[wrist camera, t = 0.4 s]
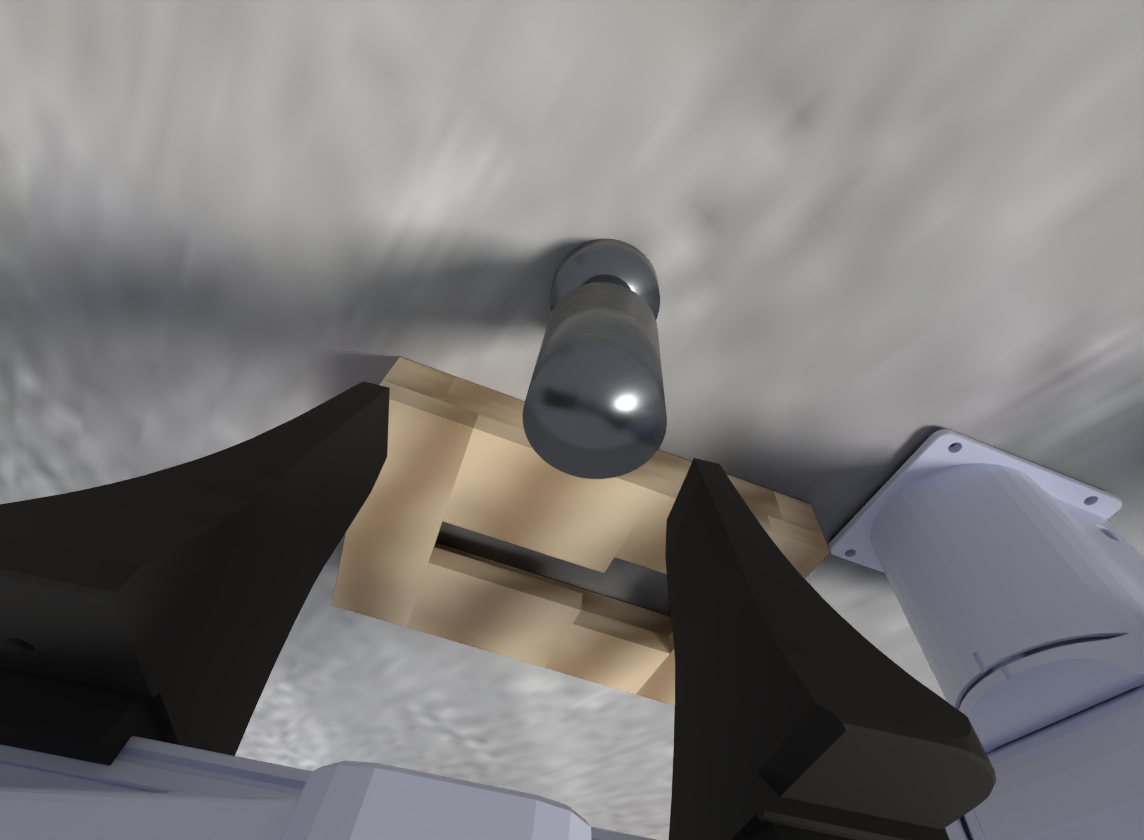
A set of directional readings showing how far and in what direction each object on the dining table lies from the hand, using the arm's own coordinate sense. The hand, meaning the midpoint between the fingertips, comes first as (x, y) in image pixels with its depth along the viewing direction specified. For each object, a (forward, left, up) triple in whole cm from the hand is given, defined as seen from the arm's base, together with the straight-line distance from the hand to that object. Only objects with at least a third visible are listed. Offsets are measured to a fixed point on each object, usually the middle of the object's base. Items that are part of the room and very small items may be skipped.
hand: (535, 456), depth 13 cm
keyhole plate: (-4, +12, -10) cm, 17 cm away
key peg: (-1, -1, -10) cm, 10 cm away
